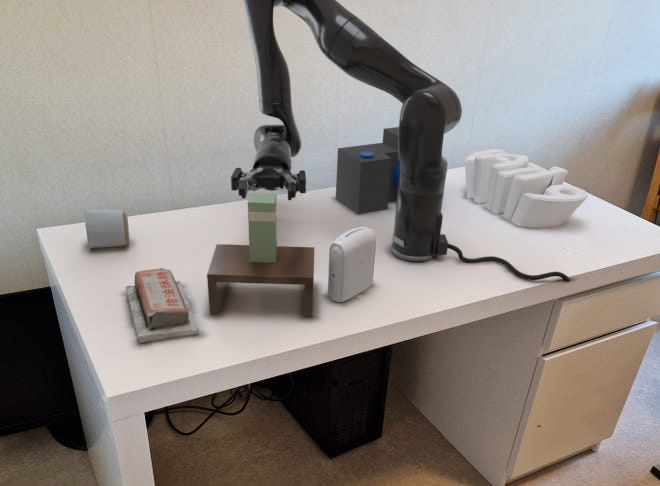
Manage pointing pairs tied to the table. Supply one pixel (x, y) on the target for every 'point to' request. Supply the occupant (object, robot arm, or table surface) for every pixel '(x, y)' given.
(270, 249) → the box
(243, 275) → the shelf stand
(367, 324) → the table surface
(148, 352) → the table surface
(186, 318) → the packaged product
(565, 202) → the white letter sculpture
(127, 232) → the ceramic mug
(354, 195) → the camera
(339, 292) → the photo printer
